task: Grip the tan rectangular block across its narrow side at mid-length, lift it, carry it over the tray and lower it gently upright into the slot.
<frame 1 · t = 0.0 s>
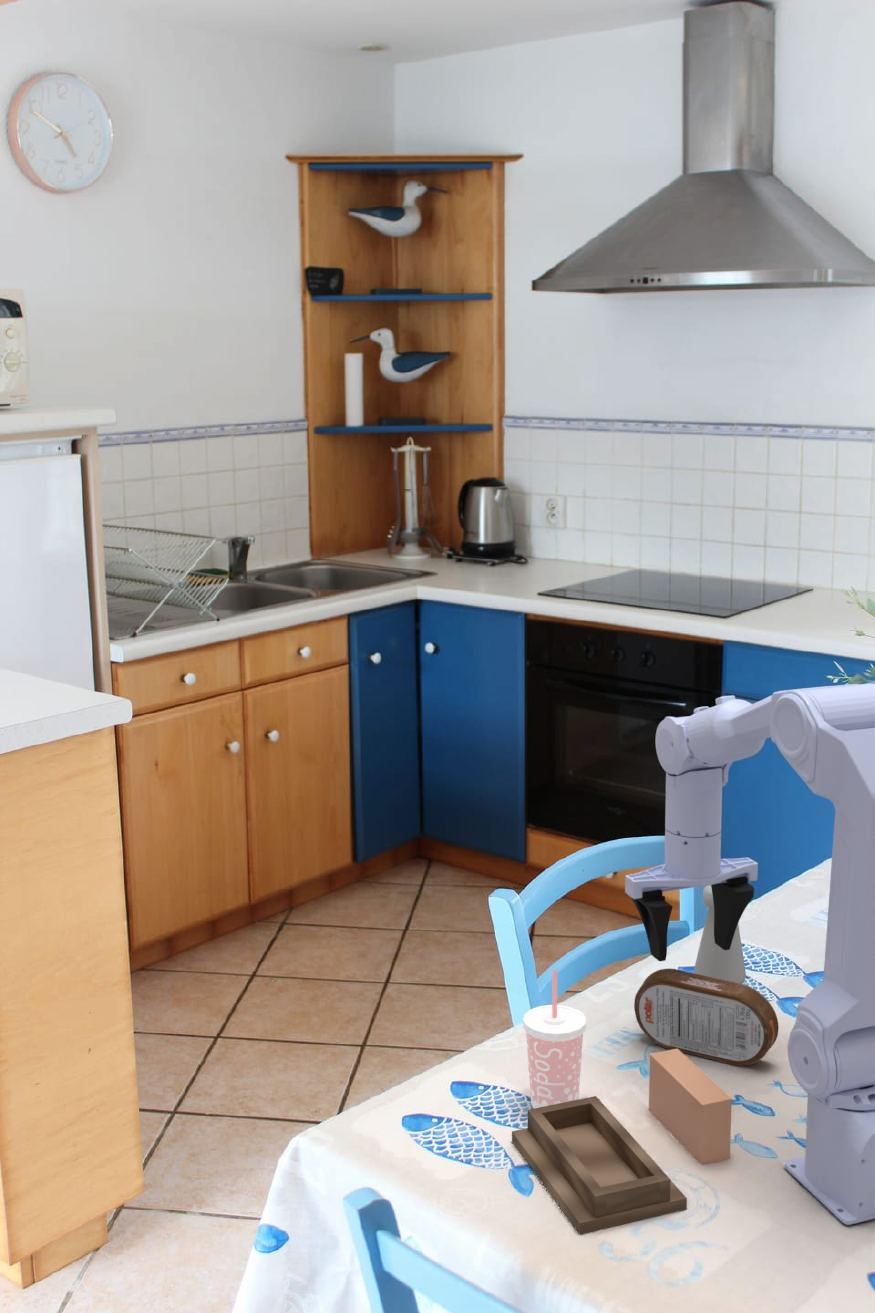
hand: (690, 952, 144), 10 cm above the table, fingers open, 7 cm apart
beverage cup: (554, 1105, 134), on the table
tin: (702, 1055, 143), on the table
tray: (595, 1173, 122), on the table
tan rectangular block: (688, 1134, 128), on the table
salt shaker: (719, 993, 157), on the table
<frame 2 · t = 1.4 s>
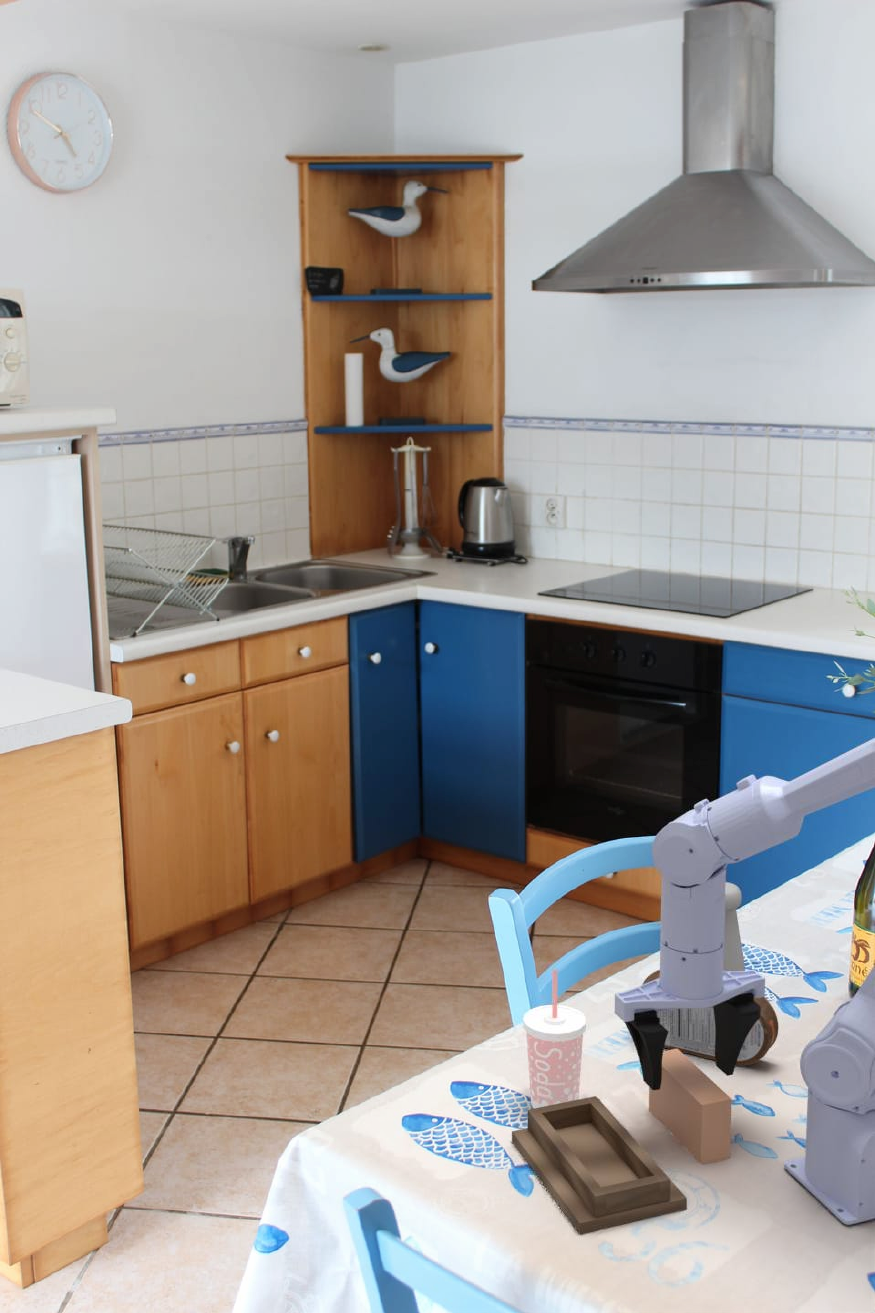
hand: (688, 1077, 127), 6 cm above the table, fingers open, 7 cm apart
nothing on the table moved.
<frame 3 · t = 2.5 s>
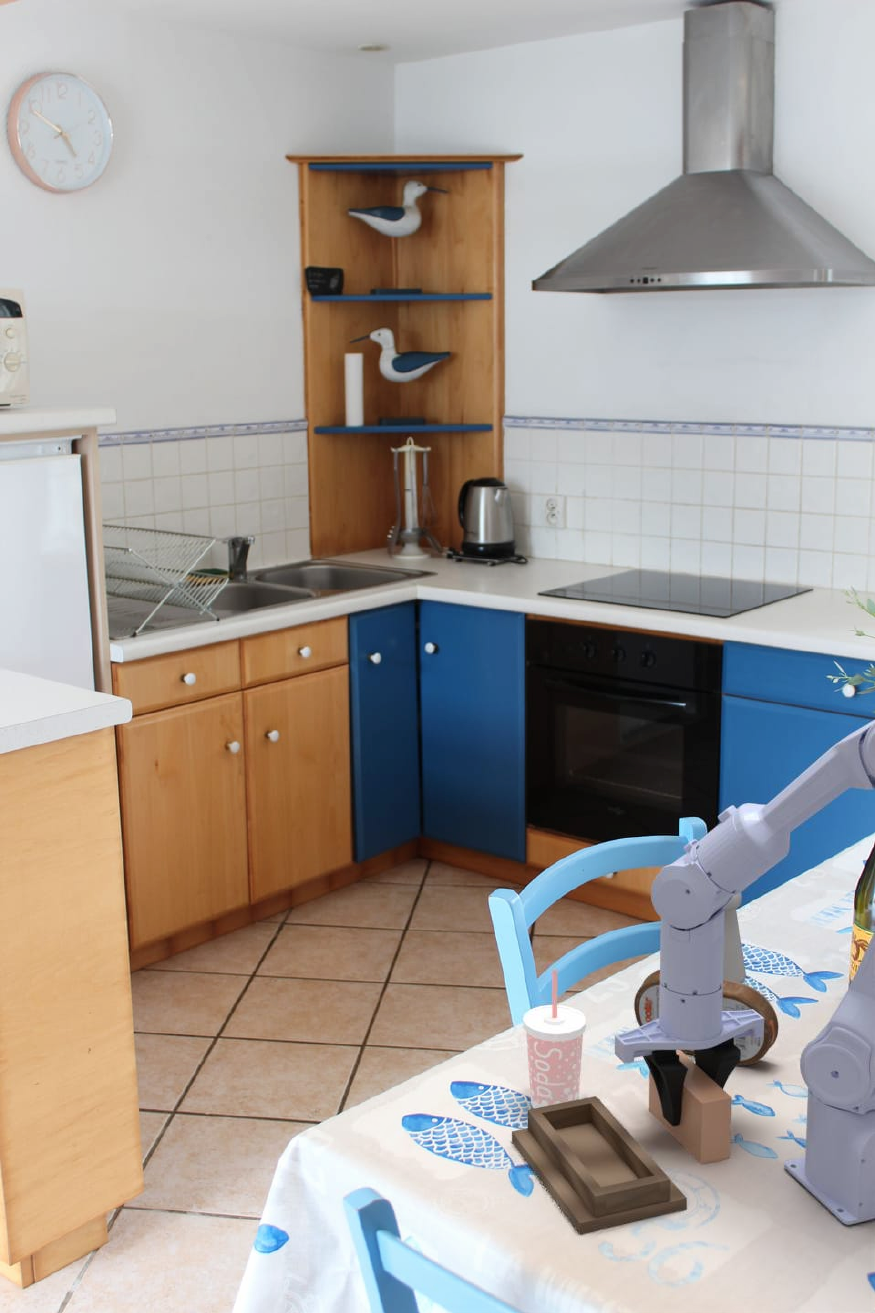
hand: (688, 1117, 128), 2 cm above the table, fingers closed on tan rectangular block, 3 cm apart
tan rectangular block: (688, 1133, 128), on the table, touching gripper
everything else where it was.
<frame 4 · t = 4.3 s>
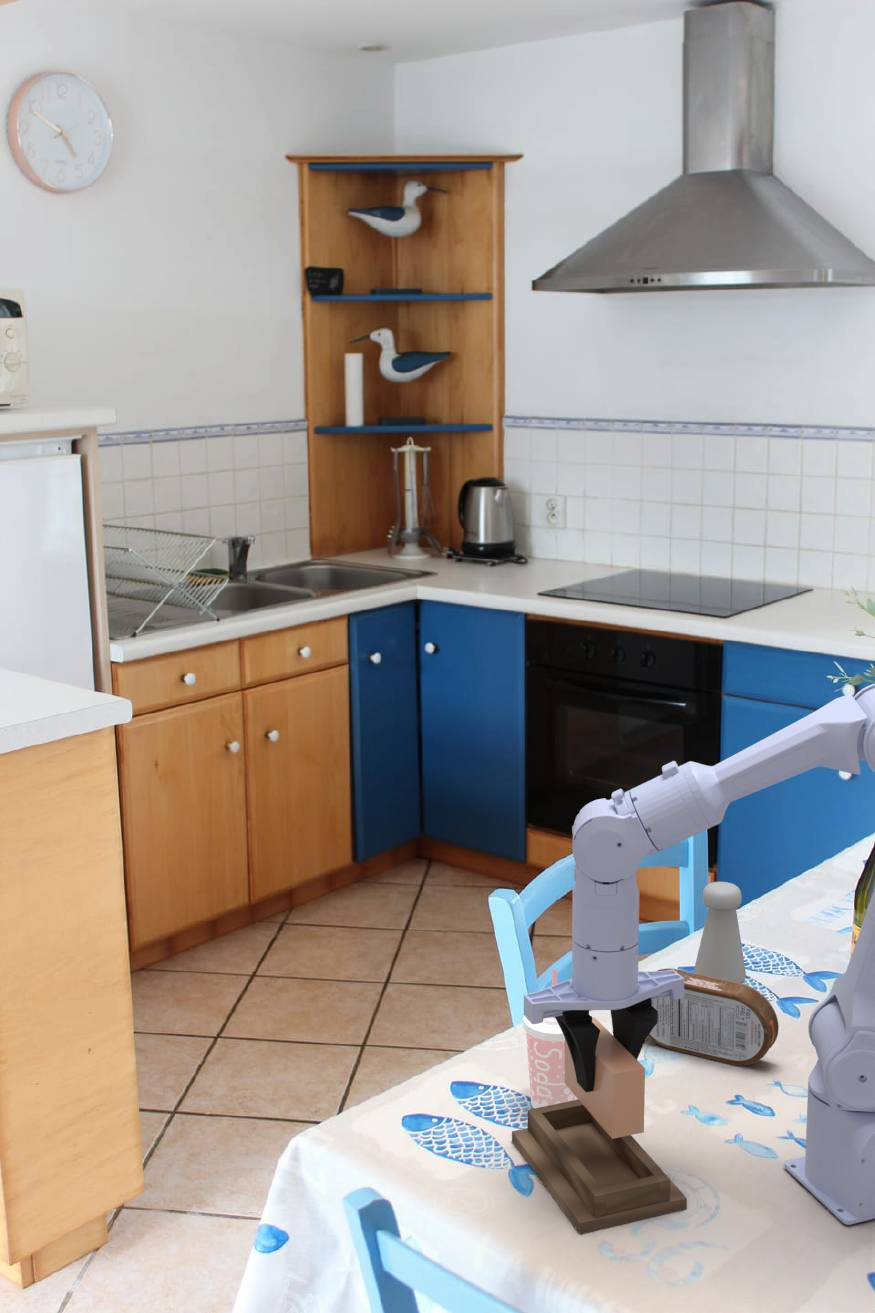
hand: (603, 1083, 121), 8 cm above the table, fingers closed on tan rectangular block, 3 cm apart
tan rectangular block: (602, 1106, 121), point 6 cm above the table, touching gripper
everything else where it was.
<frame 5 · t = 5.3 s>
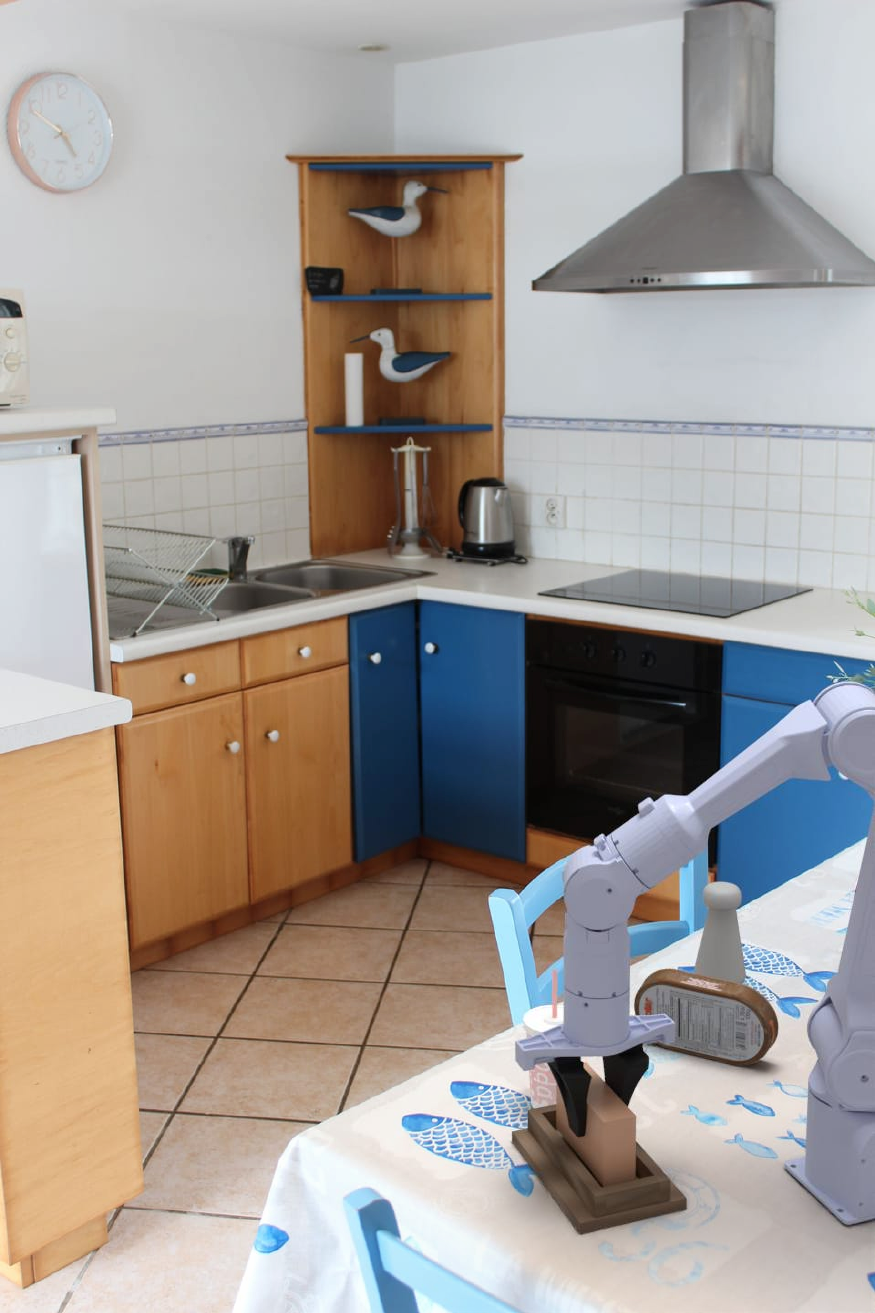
hand: (595, 1127, 121), 5 cm above the table, fingers closed on tan rectangular block, 3 cm apart
tan rectangular block: (594, 1152, 122), point 2 cm above the table, touching gripper
everything else where it was.
when the fingers open (4 cm above the table, at t = 5.9 s): tan rectangular block stays where it is, resting on tray.
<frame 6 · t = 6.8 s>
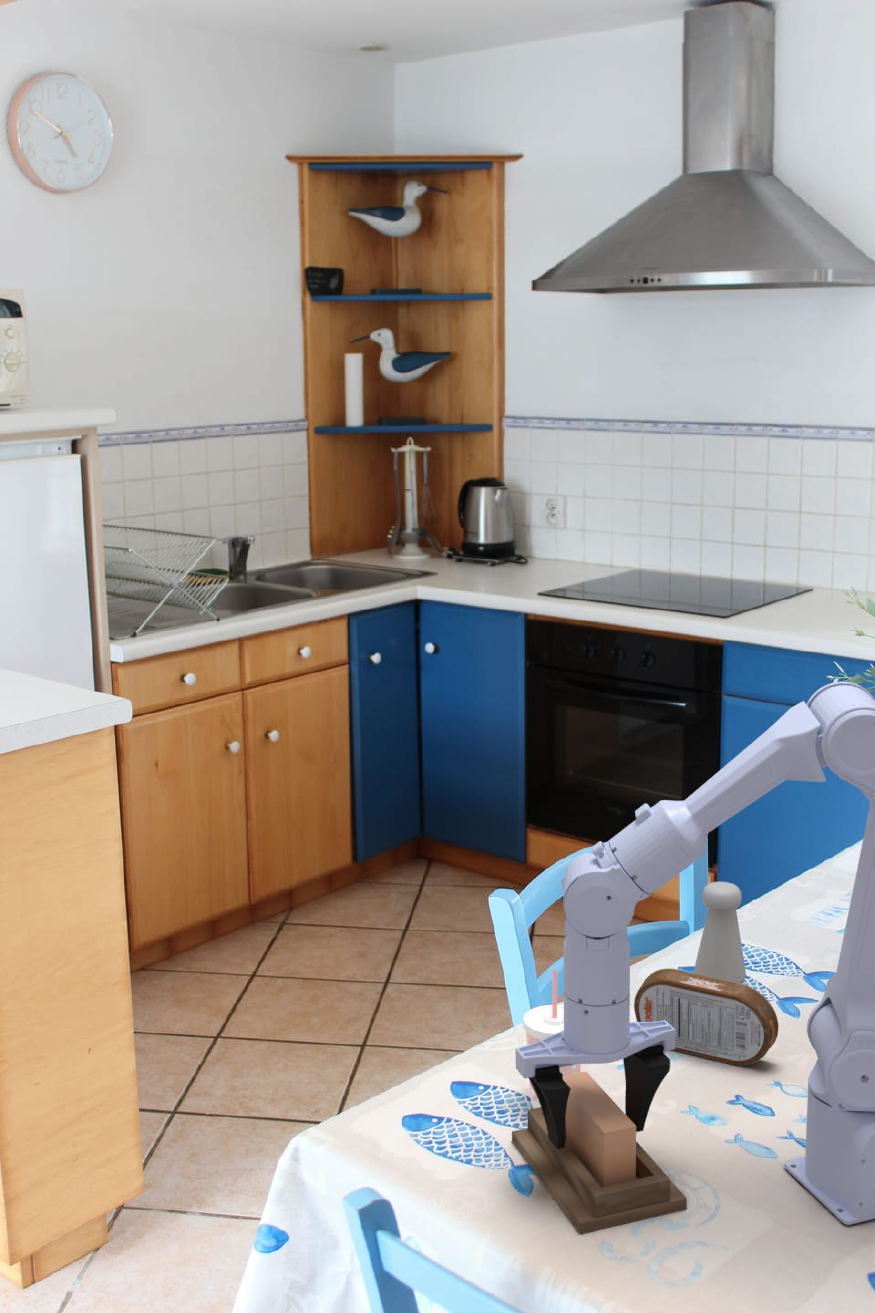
hand: (596, 1134, 121), 4 cm above the table, fingers open, 7 cm apart
tan rectangular block: (594, 1162, 122), point 1 cm above the table, touching tray
everything else where it was.
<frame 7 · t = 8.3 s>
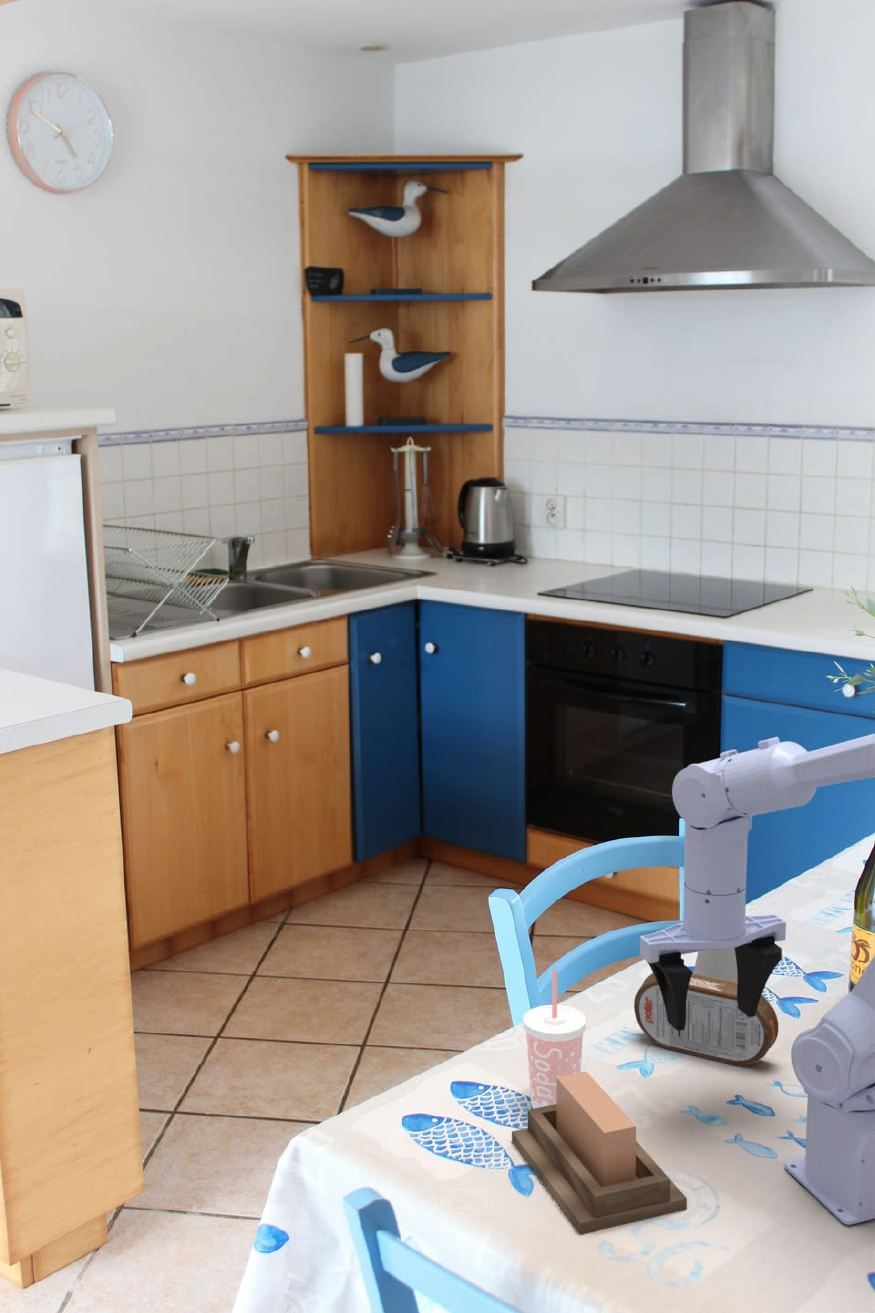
hand: (711, 1019, 130), 9 cm above the table, fingers open, 7 cm apart
nothing on the table moved.
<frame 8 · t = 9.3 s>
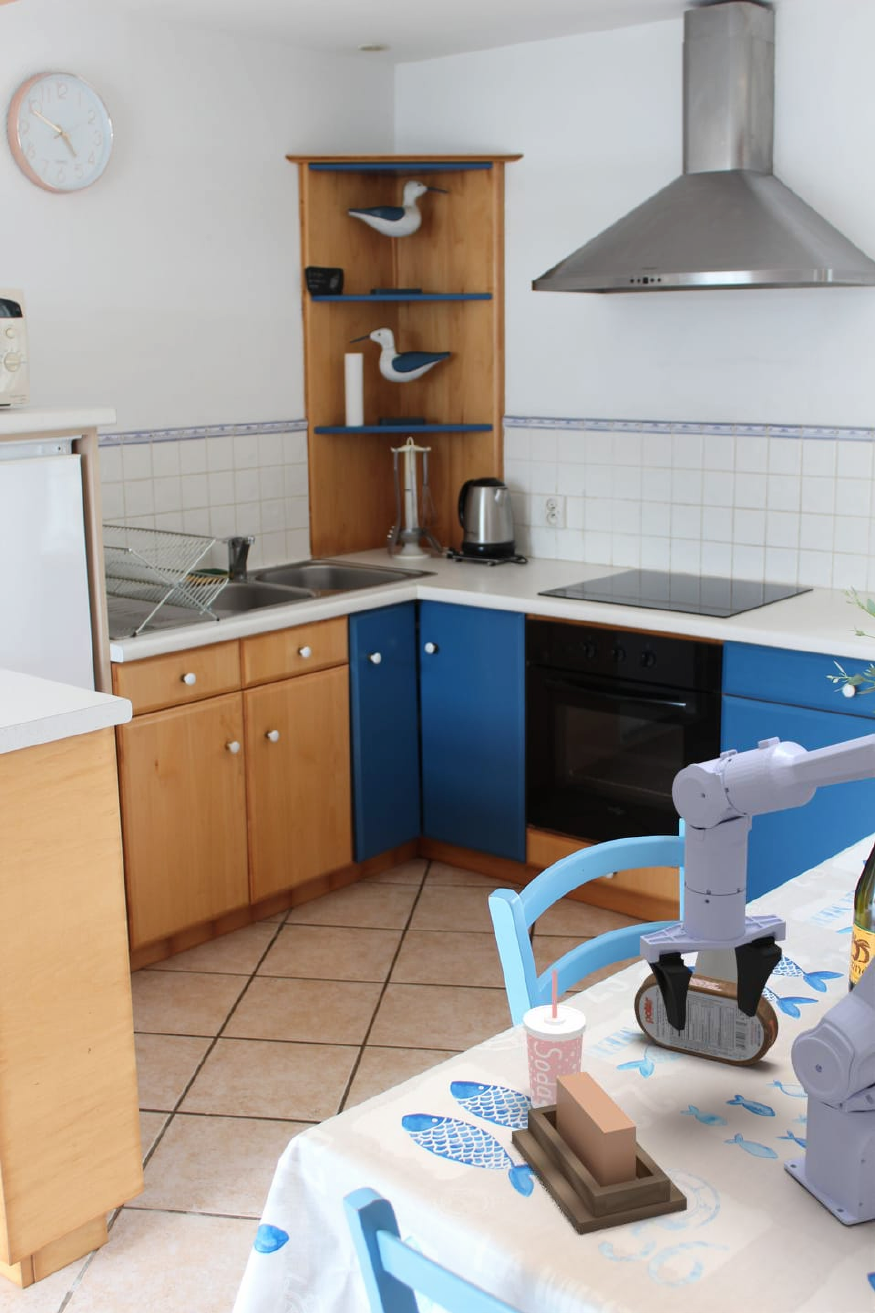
hand: (711, 1019, 130), 9 cm above the table, fingers open, 7 cm apart
nothing on the table moved.
at the end: tan rectangular block 0.2 cm off-centre on the tray, point 1.0 cm above the tray's base; tan rectangular block tilted 0°; the gripper is holding nothing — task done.
